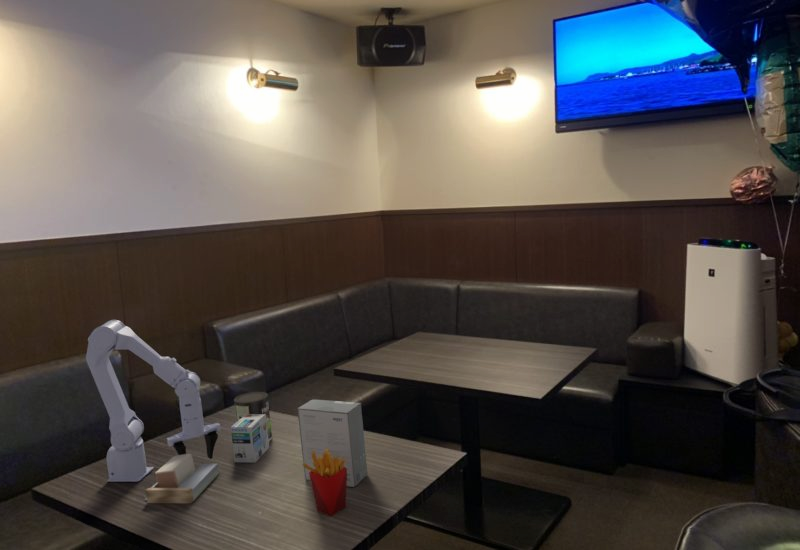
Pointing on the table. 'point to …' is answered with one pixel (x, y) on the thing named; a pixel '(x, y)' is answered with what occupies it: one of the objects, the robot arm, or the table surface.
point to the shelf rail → (169, 495)
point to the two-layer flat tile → (201, 478)
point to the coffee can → (253, 406)
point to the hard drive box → (334, 435)
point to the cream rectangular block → (175, 471)
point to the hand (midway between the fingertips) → (197, 461)
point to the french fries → (328, 483)
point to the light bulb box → (250, 438)
